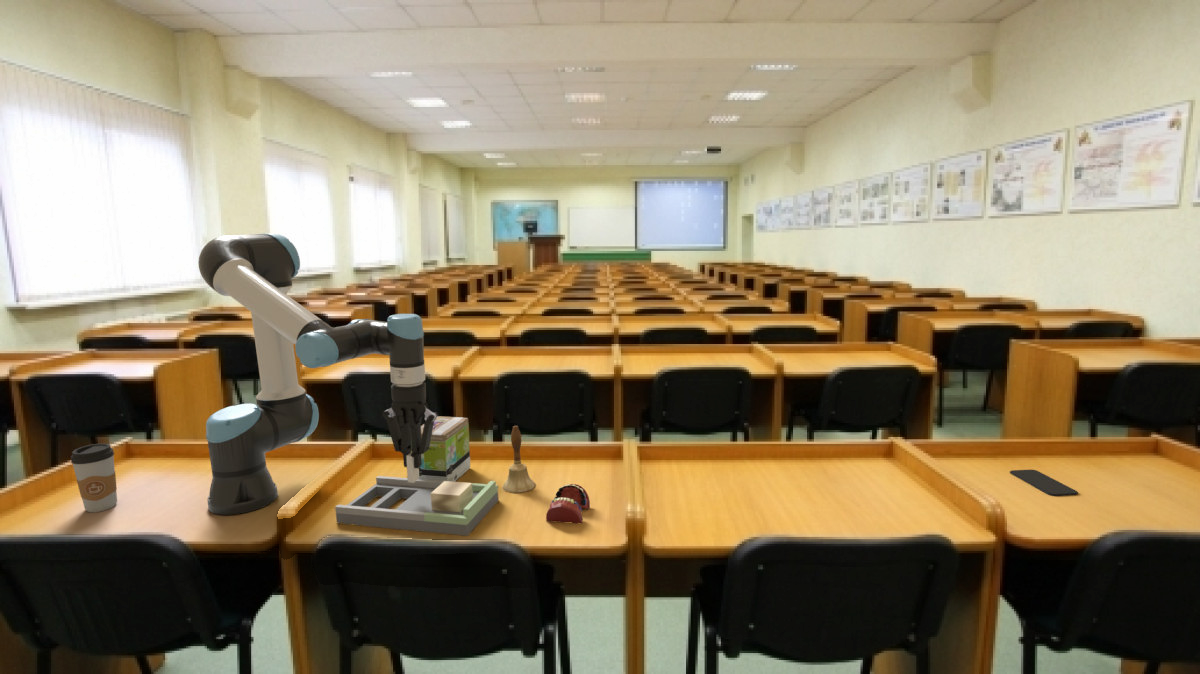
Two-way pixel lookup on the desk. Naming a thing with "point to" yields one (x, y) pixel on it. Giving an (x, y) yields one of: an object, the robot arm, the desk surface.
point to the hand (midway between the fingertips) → (413, 480)
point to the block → (451, 496)
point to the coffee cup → (95, 476)
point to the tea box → (446, 450)
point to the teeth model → (568, 504)
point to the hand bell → (517, 468)
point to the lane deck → (416, 507)
